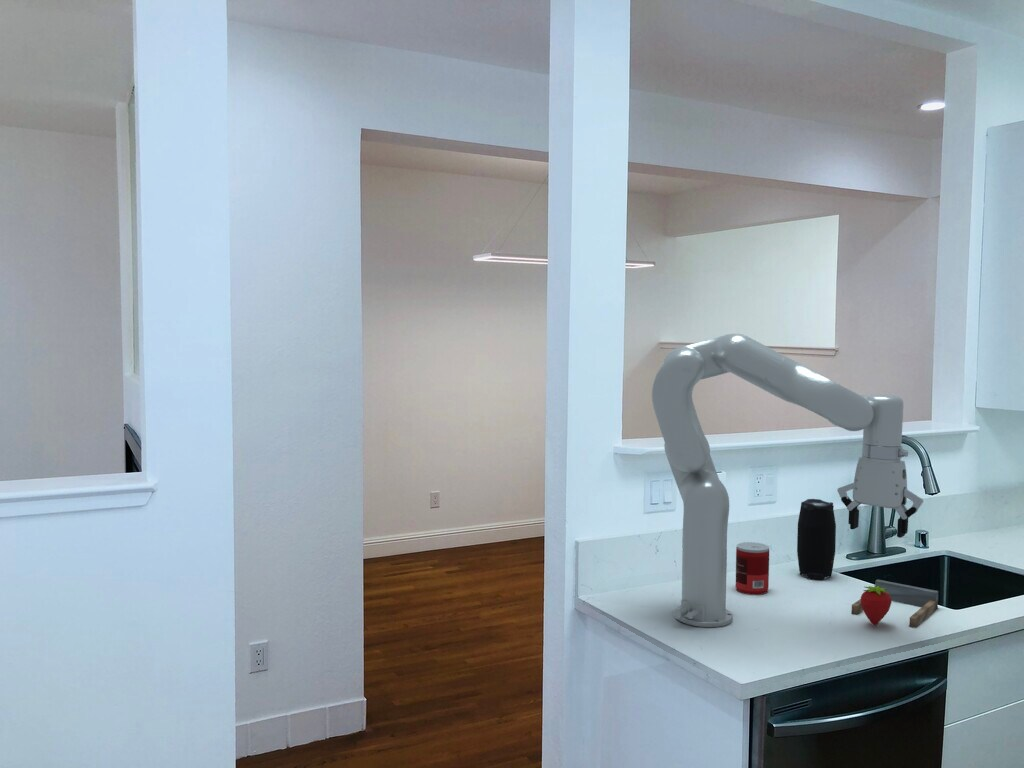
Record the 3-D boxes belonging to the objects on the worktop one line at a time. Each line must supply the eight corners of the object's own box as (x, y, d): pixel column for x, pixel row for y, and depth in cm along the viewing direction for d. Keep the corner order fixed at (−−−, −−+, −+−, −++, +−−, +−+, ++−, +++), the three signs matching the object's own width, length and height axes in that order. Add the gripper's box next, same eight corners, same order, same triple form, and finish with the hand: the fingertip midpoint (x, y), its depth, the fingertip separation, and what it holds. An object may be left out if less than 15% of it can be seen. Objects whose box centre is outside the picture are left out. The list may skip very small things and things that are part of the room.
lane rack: (915, 627, 177) (915, 609, 177) (851, 613, 186) (851, 596, 185) (937, 608, 189) (938, 591, 189) (876, 595, 198) (877, 579, 198)
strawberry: (896, 624, 179) (897, 579, 178) (881, 633, 174) (883, 586, 173) (868, 617, 183) (870, 573, 182) (854, 626, 178) (855, 580, 177)
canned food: (773, 589, 203) (774, 545, 202) (760, 597, 197) (761, 551, 196) (744, 583, 208) (745, 540, 207) (730, 590, 202) (730, 546, 201)
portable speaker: (841, 578, 212) (843, 503, 211) (812, 582, 209) (814, 506, 207) (817, 569, 220) (820, 497, 219) (789, 573, 217) (791, 499, 215)
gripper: (930, 456, 173) (925, 536, 174) (846, 447, 185) (842, 522, 186) (919, 459, 167) (915, 543, 169) (833, 450, 179) (830, 528, 180)
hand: (877, 532), depth 177 cm, fingers open, 9 cm apart
